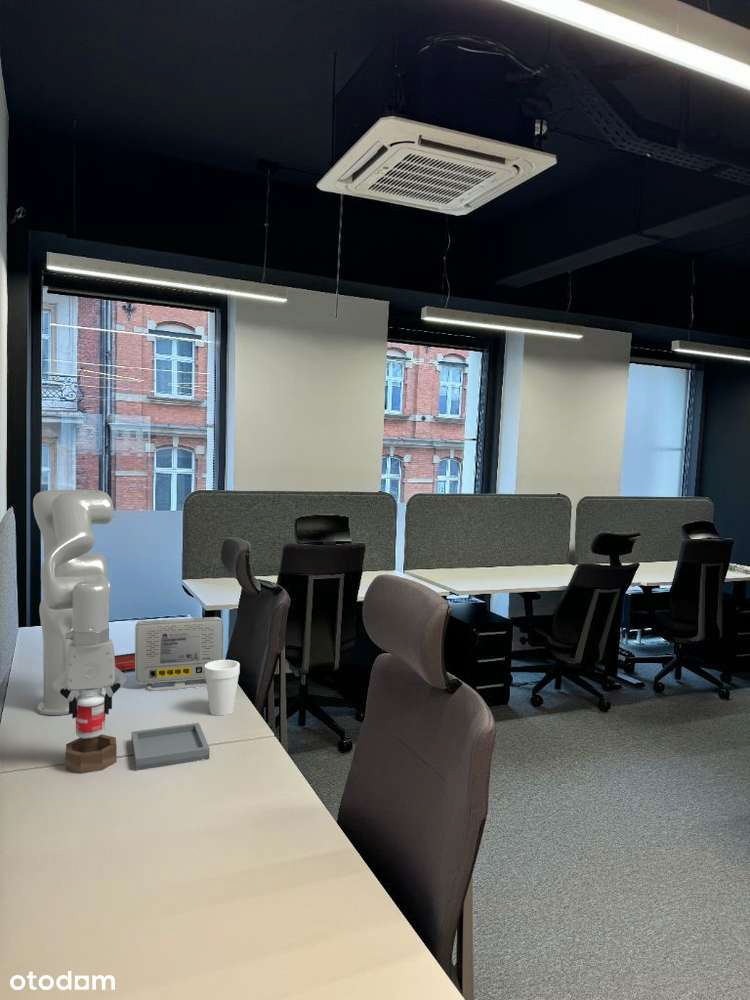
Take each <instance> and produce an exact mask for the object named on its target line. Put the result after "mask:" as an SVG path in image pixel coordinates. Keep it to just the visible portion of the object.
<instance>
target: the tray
mask: <svg viewBox="0 0 750 1000" xmlns="http://www.w3.org/2000/svg"><path fill="white" fill-rule="evenodd" d="M130 740H131V747H132V749H131V750H132V753H133V754H132V755H133V760H134V766H135V771H142V770H147V769H155V768H160V767H167V766H173V765H179V764H186V763H191V762H198V761H197V760H199V761H203V760H202V759H206V760H209V759H210V751H211V750H210V746H209V744H208V742H207V739H206V736H205V734H204V732H203V730H202V728H201V725H200V722H195V723H194V722H193V723H186V724H180V725H178V724H177V725H173V726H171V725H170V726H165V727H164V726H163V727H158V728H151V729H143V730H133V731H131V739H130ZM208 758H209V759H208Z"/></svg>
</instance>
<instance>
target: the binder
mask: <svg viewBox="0 0 750 1000" xmlns="http://www.w3.org/2000/svg"><path fill="white" fill-rule="evenodd" d="M115 667H117V668H118V669H119V670H120V671H122V672H124V673H126V672H125V671H131V672H133V671H132V670H135V652H133V653H124V654H117V655H115Z"/></svg>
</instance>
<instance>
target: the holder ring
mask: <svg viewBox="0 0 750 1000" xmlns="http://www.w3.org/2000/svg"><path fill="white" fill-rule="evenodd" d="M117 746H118V745H117V739H116V736H111V735H105V734H102V735H100V736H97V737H94V738H80V737H77V738H76V739H73V740H72V741H70V742H68V743H66V745H65V771H70V772H74V773H78V774H85V773H93V772H98V771H103V770H105V769H107V768H108V767H110V766H112V765H114V764H116V763H117V752H118V751H117Z"/></svg>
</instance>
